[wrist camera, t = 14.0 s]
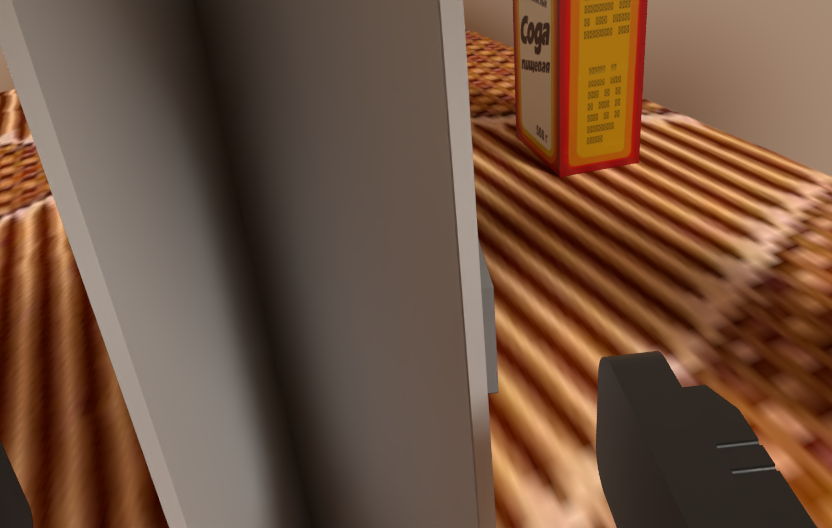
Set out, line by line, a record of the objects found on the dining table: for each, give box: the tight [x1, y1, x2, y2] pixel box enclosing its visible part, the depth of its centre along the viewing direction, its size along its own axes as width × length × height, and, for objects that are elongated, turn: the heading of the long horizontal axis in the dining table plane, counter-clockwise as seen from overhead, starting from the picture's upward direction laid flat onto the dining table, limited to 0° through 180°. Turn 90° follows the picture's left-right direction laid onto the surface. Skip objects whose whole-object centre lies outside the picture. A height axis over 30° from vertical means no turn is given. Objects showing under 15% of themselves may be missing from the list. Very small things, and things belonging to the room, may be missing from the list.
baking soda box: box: [513, 0, 647, 177], centre depth 61 cm, size 10×6×16 cm
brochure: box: [0, 0, 496, 528], centre depth 20 cm, size 14×6×30 cm, turn 8°
